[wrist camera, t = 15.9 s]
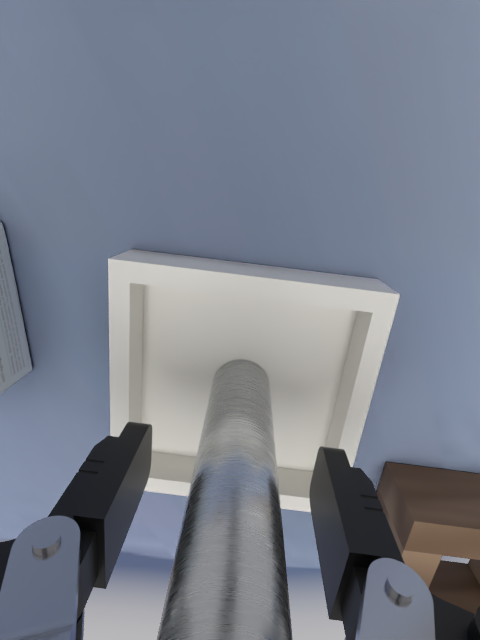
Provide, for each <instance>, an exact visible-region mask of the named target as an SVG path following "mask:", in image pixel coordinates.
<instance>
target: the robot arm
mask: <svg viewBox="0 0 480 640" xmlns="http://www.w3.org/2000/svg"><path fill="white" fill-rule="evenodd" d="M151 456H152V425H151V424H144V423H136V422H128V423H127V424H126V425H125V427H124V429H123V431H122V432H121V434H120V436H119V437H114V436H107V437H106V438H105V439H103V440H102V441H101V442H99V443H98V444H97V445H95V446H94V448H93V449H92V451H91V452H90V454H89V455H88V457H87V458H86V461H84V463H83V464H82V466H81V467H80V469H79V472H78V473H76V475H75V476H74V478H73V480H72V481H71V483H70V484H69V486H68V487H67V489H66V490H65V492H64V493H63V495H62V496H61V498H60V499H59V501H58V502H57V504H56V505H55V507H54V508H53V510H52V511H51V513H50V514H49V516H48V517H46V518H43V519H41V520H38V521H36V522H34V523H33V524H31V525H30V526H28V527H27V528H26V529H24V530H23V531H22V532H21V533H20V534H19V536H18V537H17V538H16V539H13V540H10V541H5V542H0V640H83V632H84V608H85V605H86V603H87V600H88V598H89V596H90V593H91V591H92V589H93V587H97V588H104V589H106V587H107V584H108V582H109V579H110V576H111V574H112V571H113V569H114V566H115V564H116V561H117V559H118V556H119V553H120V551H121V548H122V546H123V543H124V541H125V538H126V535H127V533H128V530H129V528H130V525H131V523H132V520H133V518H134V515H135V512H136V510H137V507H138V505H139V502H140V500H141V497H142V494H143V492H144V489H145V487H146V484H147V481H148V478H149V474H150V469H151ZM309 498H310V508H311V514H312V520H313V526H314V532H315V538H316V544H317V550H318V556H319V561H320V567H321V573H322V579H323V585H324V591H325V597H326V603H327V609H328V615H329V619H332V620H340V621H343V624H344V630H345V635H346V637H345V640H480V606H479V607H478V609H477V610H476V612H475V614H474V613H471V612H469V611H467V610H465V609H462V608H460V607H458V606H456V605H453V604H451V603H449V602H447V601H444V600H442V599H440V598H438V597H437V596H435V595H433V594H432V593H430V591H429V589H428V587H427V585H426V584H425V582H424V581H423V580H422V578H421V577H420V576H419V575H418V574H417V573H416V572H415V571H414V570H413V569H411V568H410V567H409V566H407V565H406V564H405V563H404V561H403V558H402V556H401V553H400V551H399V548H398V546H397V543H396V541H395V538H394V536H393V533H392V531H391V528H390V526H389V523H388V521H387V518H386V516H385V513H384V512H383V508H382V506H381V503H380V501H379V500H378V496H377V493H376V491H375V488H374V485H373V483H372V481H371V480H370V479H369V478H368V477H367V475H366V474H365V473H364V472H363V471H362V470H361V469H360V468H353V467H350V464H349V461H348V458H347V455H346V452H345V450H344V449H337V448H330V447H322V446H321V447H319V449H318V453H317V457H316V462H315V466H314V470H313V475H312V479H311V483H310V494H309Z"/></svg>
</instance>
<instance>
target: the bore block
mask: <svg viewBox="0 0 480 640" xmlns="http://www.w3.org/2000/svg"><path fill="white" fill-rule="evenodd" d="M376 493H377V496H378V500H379V501H380V503H381V506H382V508H383V512H384V513H385V516H386V518H387V521H388V523H389V526H390V528H391V531H392V533H393V536H394V538H395V541H396V543H397V546H398V548H399V551H400V553H401V556H402V558H403V561H404V563H405V564H406V565H407V566H409V567H410V568H411V569H413V570H414V571H415V572H416V573H417V574H418V575H419V576H420V577H421V578H422V580H423V581H424V582H425V584H426V585H427V587H428V589H429V591H430V593H432V594H433V595H435V596H437V597H438V598H440V599H442V600H444V601H447V602H449V603H451V604H453V605H456V606H458V607H460V608H462V609H465V610H467V611H469V612H471V613H474V614H475V612H476V610H477V609H478V607H479V606H480V474H478V473H470V472H462V471H454V470H446V469H438V468H430V467H423V466H415V465H407V464H399V463H391V462H386V464H385V467H384V470H383V473H382V476H381V479H380V483H379V486H378V489H377V492H376ZM443 555H445V556H453V557H460V558H468V559H470V561H469V563H468V564H465V563H457V562H449V561H441V558H442V556H443Z"/></svg>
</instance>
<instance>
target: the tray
mask: <svg viewBox="0 0 480 640" xmlns="http://www.w3.org/2000/svg"><path fill="white" fill-rule="evenodd" d="M108 286H109V364H110V436H114V437H119V436H120V434H121V432H122V431H123V429H124V427H125V425H126V424H127V423H128V422H136V423H144V424H151V425H152V456H151V469H150V474H149V478H148V481H147V484H146V487H145V489H144V491H150V492H157V493H165V494H173V495H181V496H188V493H189V489H190V484H191V480H192V475H193V470H194V466H195V461H196V457H197V452H198V447H199V443H200V438H201V433H202V429H203V424H204V420H205V415H206V410H207V406H208V401H209V397H210V392H211V387H212V383H213V378H214V375H215V373H216V372H217V370H218V369H219V368H220V367H221V366H222V365H223V364H225V363H227V362H229V361H232V360H237V359H245V360H249V361H252V362H255V363H256V364H258V365H259V366H261V367H262V368H263V369H264V370H265V372H266V373H267V375H268V378H269V383H270V394H271V405H272V416H273V428H274V439H275V450H276V461H277V472H278V484H279V495H280V506H281V508H282V509H289V510H297V511H305V512H311V508H310V498H309V494H310V483H311V479H312V475H313V470H314V466H315V462H316V457H317V453H318V449H319V447H321V446H322V447H330V448H337V449H344V450H345V452H346V455H347V458H348V461H349V464H350V467H353V464H354V460H355V457H356V453H357V449H358V446H359V442H360V439H361V435H362V431H363V428H364V424H365V420H366V417H367V413H368V410H369V406H370V402H371V399H372V395H373V391H374V388H375V384H376V381H377V377H378V373H379V370H380V366H381V363H382V359H383V355H384V352H385V348H386V344H387V341H388V337H389V334H390V330H391V326H392V323H393V319H394V316H395V312H396V308H397V305H398V301H399V297H400V294H399V293H397V292H396V291H395V290H393V289H392V288H390V287H389V286H387V285H386V284H384V283H383V282H381V281H380V280H378V279H373V278H365V277H356V276H348V275H340V274H332V273H324V272H315V271H307V270H299V269H291V268H283V267H275V266H266V265H258V264H250V263H242V262H234V261H225V260H217V259H209V258H201V257H193V256H185V255H176V254H168V253H160V252H152V251H144V250H136V249H131V250H128V251H126V252H123V253H121V254H118V255H116V256H113V257H111V258H109V259H108Z"/></svg>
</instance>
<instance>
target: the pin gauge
mask: <svg viewBox="0 0 480 640" xmlns="http://www.w3.org/2000/svg"><path fill="white" fill-rule="evenodd" d="M157 640H292V630H291V619H290V607H289V596H288V584H287V574H286V562H285V551H284V540H283V528H282V517H281V506H280V495H279V484H278V472H277V461H276V450H275V439H274V428H273V416H272V405H271V394H270V383H269V378H268V375H267V373H266V372H265V370H264V369H263V368H262V367H261V366H259V365H258V364H256V363H255V362H252V361H249V360H245V359H237V360H232V361H229V362H227V363H225V364H223V365H222V366H221V367H220V368H219V369H218V370H217V372H216V373H215V375H214V378H213V383H212V387H211V392H210V397H209V401H208V406H207V410H206V415H205V420H204V424H203V429H202V433H201V438H200V443H199V447H198V452H197V457H196V461H195V466H194V470H193V475H192V480H191V484H190V489H189V493H188V498H187V503H186V507H185V512H184V517H183V521H182V526H181V530H180V535H179V540H178V544H177V549H176V553H175V558H174V563H173V568H172V572H171V577H170V581H169V586H168V590H167V595H166V600H165V605H164V609H163V614H162V618H161V623H160V627H159V632H158V636H157Z"/></svg>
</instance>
